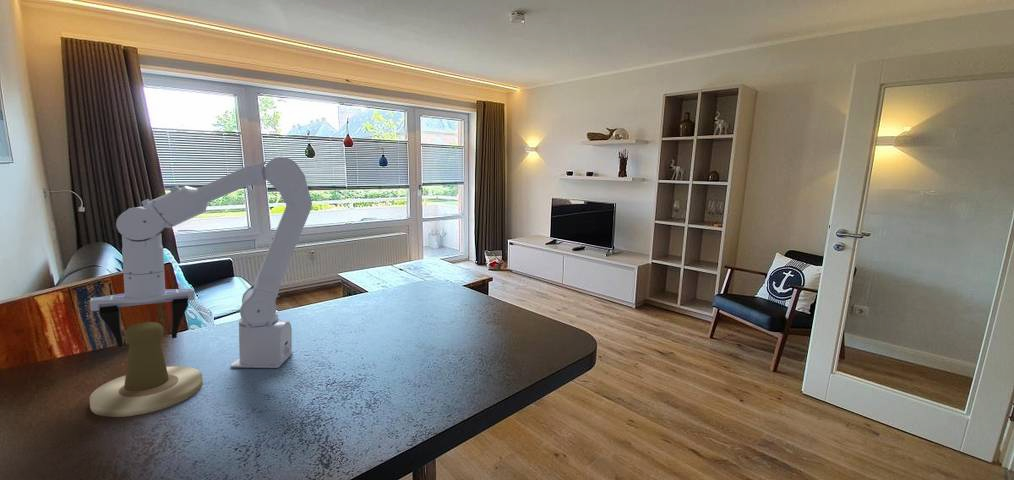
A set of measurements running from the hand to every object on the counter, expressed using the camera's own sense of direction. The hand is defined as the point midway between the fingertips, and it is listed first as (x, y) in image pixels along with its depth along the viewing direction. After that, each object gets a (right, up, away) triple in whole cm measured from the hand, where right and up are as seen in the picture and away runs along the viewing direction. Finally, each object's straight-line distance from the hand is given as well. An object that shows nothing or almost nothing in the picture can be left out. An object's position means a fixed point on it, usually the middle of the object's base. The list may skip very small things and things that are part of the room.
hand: (148, 340), depth 77 cm
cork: (+4, -7, -5) cm, 9 cm away
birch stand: (+5, -8, -5) cm, 11 cm away
